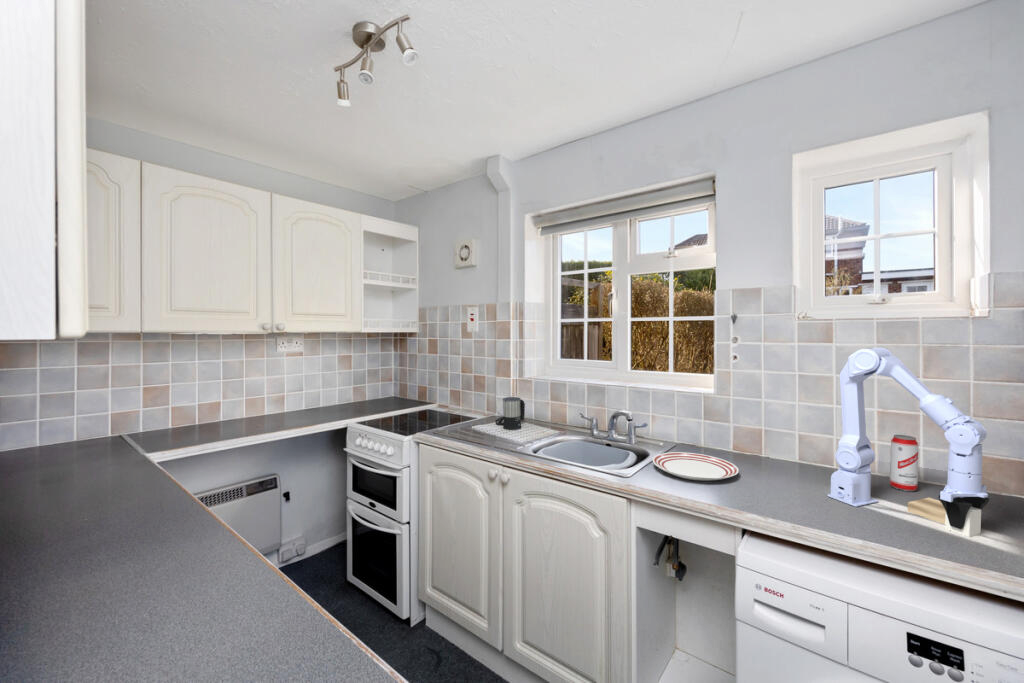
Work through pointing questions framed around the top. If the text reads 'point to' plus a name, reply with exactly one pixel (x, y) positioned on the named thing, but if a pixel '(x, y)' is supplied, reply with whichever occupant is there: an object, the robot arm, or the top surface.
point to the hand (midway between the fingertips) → (962, 525)
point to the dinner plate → (695, 466)
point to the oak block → (928, 509)
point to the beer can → (904, 463)
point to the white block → (968, 523)
